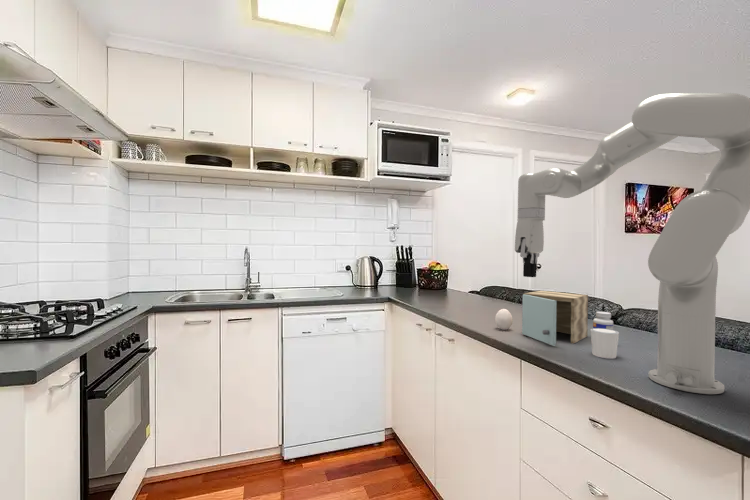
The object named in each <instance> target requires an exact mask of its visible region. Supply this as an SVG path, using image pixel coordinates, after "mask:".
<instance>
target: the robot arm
mask: <svg viewBox="0 0 750 500" xmlns="http://www.w3.org/2000/svg"><path fill="white" fill-rule="evenodd" d="M678 137H683V138H684V137H685V138H698V139H704V140H705V141H707V142H708V144H711V145H712V146H713V147H716V149H718V150H719V151H720V156H719V157H720V158H719V160H718V162H717V163H716V164H715V165H714V167H713V168H712V169H711V171H710V173H709V175H708V177H707V180H706V181H705V183H704V184H703V186H702V187H701V189H700V190H697V191H694V192H692V193H690V194H688V195H687V196H685V197H684V198H683V199H681V201H679V203H678V204H677V205H676V206H675V208H674V210H673V211H672V213H671V215H670V216H669V219H668V220H667V222H666V223H665V225H664V226H663V229H662V230H661V233H660V234H659V236H658V237H657V240H656V241H655V242H654V245H653V247H652V249H651V250H650V253H649V254H648V259H647V266H648V269H649V271H650V273H651V275H652V276H653V277H654V278H655V279H656V280H658V282H659V287H658V298H657V299H658V300H657V302H658V303H657V349H656V351H657V361H656V362H657V364H656V368H654V369H651V370H649V371H648V378H649V379H650V380H651V381H652V382H655V383H656V384H659V385H662V386H664V387H667V388H671V389H675V390H678V391H683V392H686V393H687V392H688V393H693V394H701V395H702V394H703V395H720V394H723V393H725V389H726V388H725V385H724V384H723V383H722V382H721V381H719V380H717V379H715V370H716V369H715V368H716V367H715V365H716V363H715V360H716V359H715V358H716V357H715V355H716V350H715V349H716V313H717V311H716V310H717V309H716V304H717V303H716V302H717V287H718V286H717V285H718V284H717V283H718V276H719V275H718V273H719V272H718V271H719V265H718V264H719V262H718V259H717V255H718V253H719V251H720V250H721V248H722V247H723V245H724V244H725V242H726V241H727V239H728V237H730V235H732V234H733V233H735V232H736V231H738V230H739V229H740V227H741V226H742V225H743V224H744V222H745V219H746V217H747V216H748V214H749V212H750V97H748V96H746V95H744V94H739V93H734V92H676V93H675V92H672V93H671V92H670V93H669V92H668V93H666V92H665V93H660V94H655V95H652V96H650V97H648V98H646V99H644V100H643V101H641V102H640V103H639V104H638V105H637V106H636V107H635V109H634V110H633V112H632V116H631V121H630V122H628V123H626V124H625V125H623V126H622V127H619V128H618V129H616V130H614V131H613V132H611V133H609V134H607V135H606V136H603V138H602V139H600V141H599V142H598V146H597V148H596V151H595V153H594V154H593V155H592V156H591V158H589V159H588V160H587V161H586V162H584V163H582V164H581V165H579V166H577V167H576V168H573V169H571V170H569V171H568V170H566V169H563V168H559V167H550V168H547V169H544V170H541V171H538V172H529V173H524V174H521V175H519V178H518V182H517V223H516V229H515V236H514V238H515V239H514V251H515V253H517V254H519V253H520V254H519V257H520V258H522V263H523V265H522V266H523V272H522V274H523V277H524V278H525V277H526V278H536V277H537V264H538V258H539V257H540V254H541V253H543V251H544V247H545V246H544V242H545V241H544V238H545V236H544V233H545V232H544V221H546V196H551V197H557V198H561V199H569V198H573V197H576V196H578V195H581V194H582V193H584V192H587V191H589V190H590V189H592V188H594V187H596V186H598V185H599V184H601V183H602V182H604V181H605V180H606V179H608V178H609V177H611V176H612V175H614V173H615V172H617V171H618V170H619V169H620V168H622V167H623V166H625V165H627V164H628V163H631V162H633V161H634V160H636V159H638V158H640V157H642V156H644V155H646V154H648V153H649V152H651V151H654V150H656V149H657V148H659V147H661V146H663V145H665V144H668V143H670V142H671V141H672V140H674V139H676V138H678Z"/></svg>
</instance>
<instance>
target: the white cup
mask: <svg viewBox="0 0 750 500" xmlns="http://www.w3.org/2000/svg"><path fill="white" fill-rule="evenodd" d="M589 331H590V340H591V352H592V355H593V356H595V357H598V358H603V359H611V360H612V359H617V356H618V355H617V353H618V346H619V338H620V337H619V336H620V332H619V331H617V330H614V329H613V330H610V329H603V328H593V327H592V328H590V330H589Z"/></svg>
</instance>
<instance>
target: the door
mask: <svg viewBox="0 0 750 500" xmlns="http://www.w3.org/2000/svg"><path fill="white" fill-rule="evenodd" d="M521 311H522V314H521V315H522V316H521V317H522V319H521V321H522V322H521V323H522V325H521V327H522V329H521V333H522V335H525V336H527V337H530V338H533V339H534V340H537V341H540V342H542V343H545V344H548V345H551V346H552V347H553V346H557V332H556V301H555V300H550V299H545V298H540V297H535V296H530V295H525V294H522V310H521Z"/></svg>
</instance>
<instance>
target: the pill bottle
mask: <svg viewBox="0 0 750 500" xmlns="http://www.w3.org/2000/svg"><path fill="white" fill-rule="evenodd" d="M611 318H612V313H611V312H608V311H596V312H595V318H593V321H592V328H603V329H610V330H614V321H613V320H612V319H611Z"/></svg>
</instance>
